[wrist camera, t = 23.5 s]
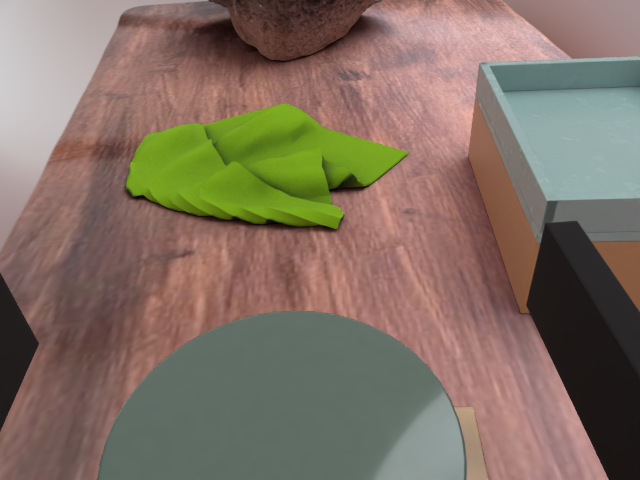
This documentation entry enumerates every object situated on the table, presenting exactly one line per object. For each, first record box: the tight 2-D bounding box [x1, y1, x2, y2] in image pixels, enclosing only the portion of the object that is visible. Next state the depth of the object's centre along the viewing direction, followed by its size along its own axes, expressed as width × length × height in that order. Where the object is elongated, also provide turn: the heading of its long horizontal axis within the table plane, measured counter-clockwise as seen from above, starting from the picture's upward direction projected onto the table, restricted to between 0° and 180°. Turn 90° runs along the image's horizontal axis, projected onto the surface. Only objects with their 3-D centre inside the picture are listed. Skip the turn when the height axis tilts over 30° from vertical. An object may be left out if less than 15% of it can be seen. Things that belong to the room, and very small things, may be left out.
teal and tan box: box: [468, 56, 640, 313], centre depth 35 cm, size 17×12×8 cm
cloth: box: [125, 103, 409, 229], centre depth 45 cm, size 20×22×2 cm
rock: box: [209, 0, 382, 61], centre depth 66 cm, size 26×22×10 cm
